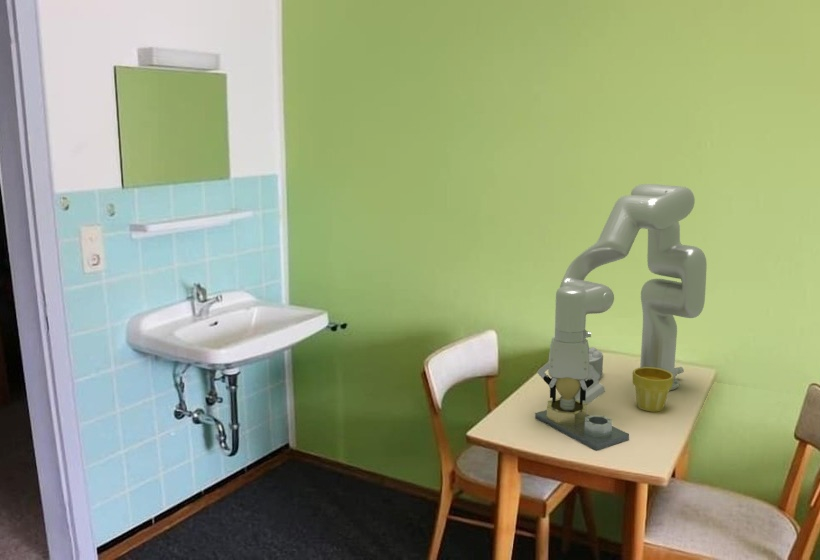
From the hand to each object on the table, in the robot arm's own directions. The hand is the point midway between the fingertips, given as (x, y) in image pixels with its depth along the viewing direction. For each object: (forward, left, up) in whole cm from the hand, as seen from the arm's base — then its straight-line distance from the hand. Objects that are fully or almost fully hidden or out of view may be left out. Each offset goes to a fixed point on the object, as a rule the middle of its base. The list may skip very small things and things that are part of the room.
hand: (567, 401), depth 181 cm
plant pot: (-26, +5, -6) cm, 27 cm away
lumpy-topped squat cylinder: (-28, -22, -6) cm, 36 cm away
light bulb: (0, 0, -2) cm, 2 cm away
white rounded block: (-15, -10, -6) cm, 19 cm away
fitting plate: (0, +5, -6) cm, 8 cm away
